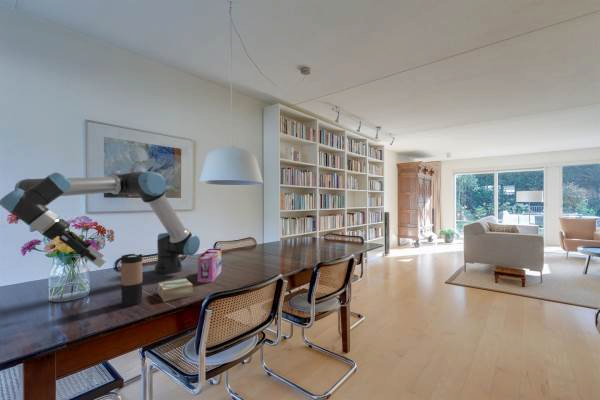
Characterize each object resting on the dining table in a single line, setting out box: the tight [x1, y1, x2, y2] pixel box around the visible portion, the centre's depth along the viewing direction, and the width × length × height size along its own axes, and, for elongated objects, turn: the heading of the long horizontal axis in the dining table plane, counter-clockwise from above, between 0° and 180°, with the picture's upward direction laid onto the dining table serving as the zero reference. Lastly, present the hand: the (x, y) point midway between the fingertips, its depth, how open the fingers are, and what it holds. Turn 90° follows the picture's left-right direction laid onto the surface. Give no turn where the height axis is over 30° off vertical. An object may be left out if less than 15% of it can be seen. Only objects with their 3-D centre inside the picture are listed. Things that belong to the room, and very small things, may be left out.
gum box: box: [197, 248, 223, 283], centre depth 156 cm, size 24×8×14 cm, turn 4°
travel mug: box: [120, 253, 143, 307], centre depth 117 cm, size 8×8×20 cm
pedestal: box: [157, 278, 194, 302], centre depth 127 cm, size 12×12×5 cm
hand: (102, 261), depth 110 cm, fingers open, 13 cm apart
